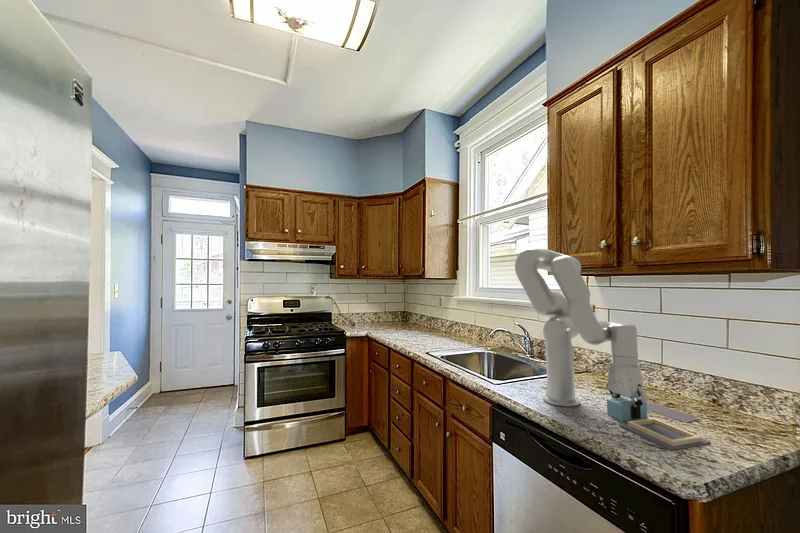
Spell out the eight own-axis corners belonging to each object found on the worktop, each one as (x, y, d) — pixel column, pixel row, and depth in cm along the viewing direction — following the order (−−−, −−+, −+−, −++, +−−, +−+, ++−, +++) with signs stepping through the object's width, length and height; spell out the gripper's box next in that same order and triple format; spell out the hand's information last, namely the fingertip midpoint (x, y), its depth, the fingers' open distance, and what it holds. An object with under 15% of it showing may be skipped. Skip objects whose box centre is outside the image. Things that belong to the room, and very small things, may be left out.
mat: (620, 426, 108) (619, 420, 108) (655, 420, 112) (655, 415, 112) (671, 451, 93) (671, 444, 93) (710, 443, 96) (710, 437, 96)
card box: (622, 421, 112) (621, 405, 112) (607, 414, 118) (606, 399, 118) (647, 417, 114) (646, 402, 115) (631, 410, 120) (630, 396, 120)
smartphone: (686, 421, 110) (637, 405, 124) (686, 424, 110) (638, 408, 124) (700, 417, 112) (651, 402, 126) (700, 420, 112) (651, 404, 126)
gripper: (595, 355, 124) (597, 406, 124) (638, 367, 108) (641, 426, 107) (612, 354, 126) (614, 404, 126) (658, 365, 109) (660, 423, 109)
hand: (627, 413), depth 116 cm, fingers closed on card box, 6 cm apart
